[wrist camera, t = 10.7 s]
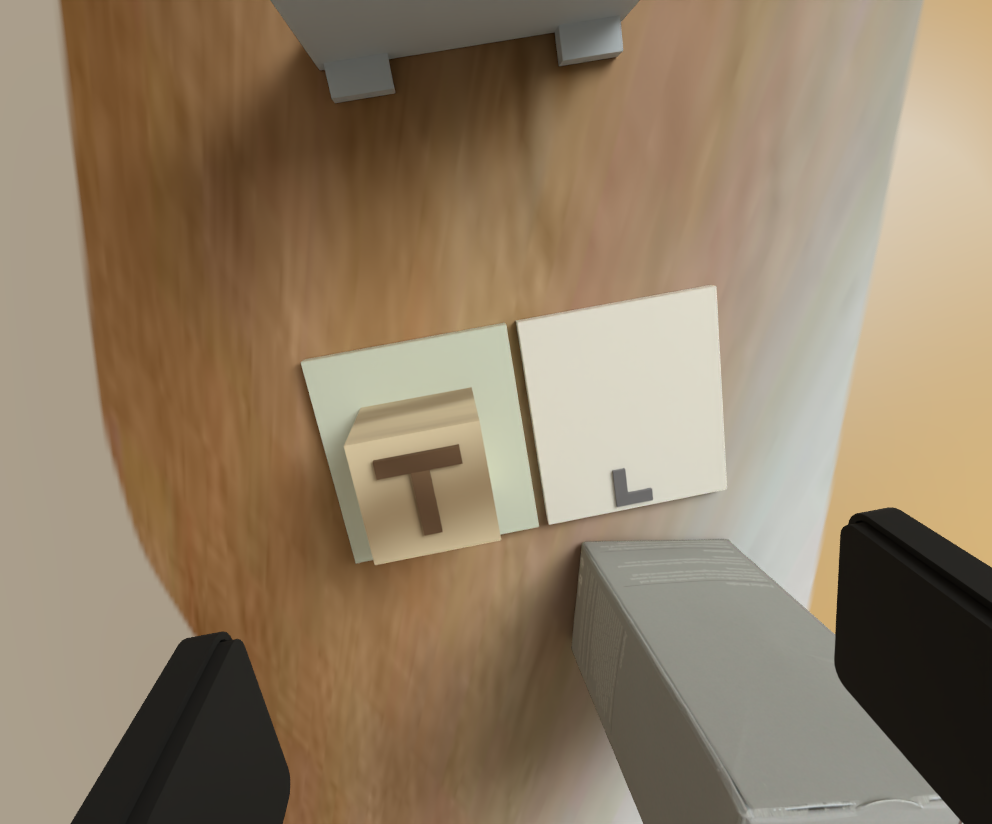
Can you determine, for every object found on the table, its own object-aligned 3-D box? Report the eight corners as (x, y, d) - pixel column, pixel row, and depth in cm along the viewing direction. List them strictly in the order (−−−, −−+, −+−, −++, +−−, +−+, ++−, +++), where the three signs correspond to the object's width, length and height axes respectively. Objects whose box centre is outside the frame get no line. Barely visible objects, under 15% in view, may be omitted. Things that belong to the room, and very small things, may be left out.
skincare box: (567, 642, 31) (689, 1018, 16) (581, 522, 29) (735, 823, 14) (717, 641, 32) (963, 995, 17) (741, 524, 30) (1043, 809, 15)
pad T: (303, 359, 26) (299, 363, 25) (504, 322, 26) (506, 325, 25) (357, 556, 29) (355, 565, 28) (537, 521, 29) (539, 528, 28)
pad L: (515, 320, 26) (517, 323, 25) (710, 284, 27) (717, 286, 26) (546, 519, 29) (549, 526, 28) (721, 484, 30) (728, 490, 29)
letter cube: (360, 407, 26) (342, 448, 21) (471, 387, 26) (480, 422, 21) (386, 512, 28) (375, 573, 23) (490, 492, 28) (502, 547, 23)
